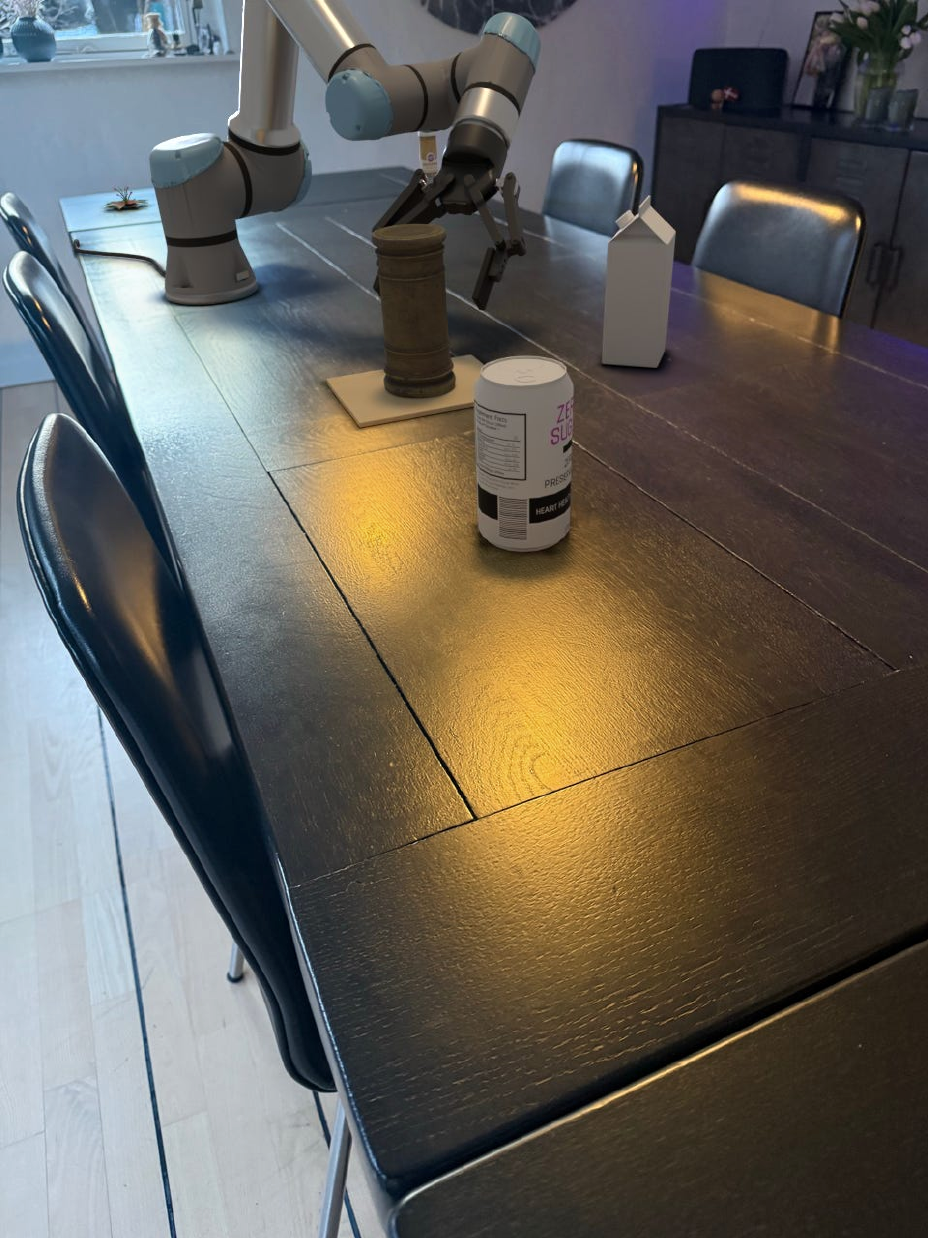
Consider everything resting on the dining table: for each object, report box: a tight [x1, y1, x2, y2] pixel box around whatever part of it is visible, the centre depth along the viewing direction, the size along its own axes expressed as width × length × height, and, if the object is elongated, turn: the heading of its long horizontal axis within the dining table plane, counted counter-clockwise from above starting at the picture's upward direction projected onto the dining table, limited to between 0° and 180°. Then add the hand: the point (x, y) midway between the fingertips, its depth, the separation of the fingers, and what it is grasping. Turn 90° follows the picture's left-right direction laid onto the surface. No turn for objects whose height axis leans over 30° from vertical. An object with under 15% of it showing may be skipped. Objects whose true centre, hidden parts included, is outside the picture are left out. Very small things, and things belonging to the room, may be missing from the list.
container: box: [371, 223, 456, 398], centre depth 106 cm, size 9×9×18 cm
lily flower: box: [102, 186, 148, 210], centre depth 222 cm, size 12×12×5 cm
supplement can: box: [473, 355, 575, 553], centre depth 77 cm, size 8×8×15 cm
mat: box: [325, 354, 485, 429], centre depth 111 cm, size 16×20×1 cm
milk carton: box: [601, 195, 677, 369], centre depth 112 cm, size 7×7×19 cm
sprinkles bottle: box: [417, 131, 439, 176], centre depth 226 cm, size 5×5×13 cm
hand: (427, 299), depth 108 cm, fingers open, 13 cm apart
